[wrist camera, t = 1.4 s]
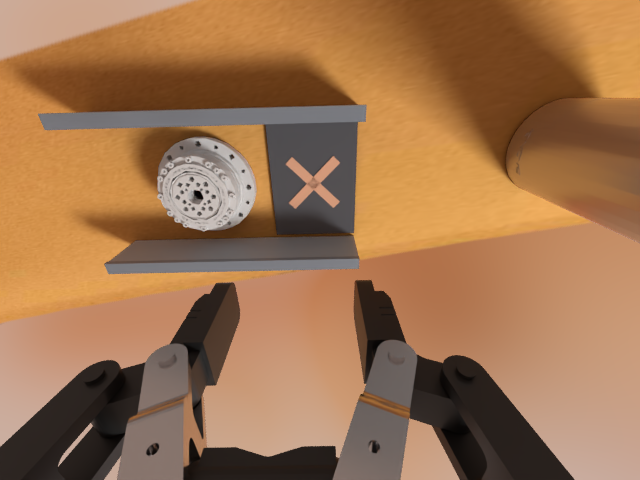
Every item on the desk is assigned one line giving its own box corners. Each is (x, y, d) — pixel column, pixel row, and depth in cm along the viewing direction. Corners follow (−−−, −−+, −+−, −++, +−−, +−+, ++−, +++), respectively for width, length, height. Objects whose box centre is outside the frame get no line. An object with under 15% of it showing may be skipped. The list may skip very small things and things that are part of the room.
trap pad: (357, 121, 28) (357, 121, 27) (353, 231, 33) (353, 233, 33) (265, 123, 28) (265, 124, 27) (277, 233, 33) (276, 234, 33)
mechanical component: (197, 113, 27) (147, 184, 31) (176, 116, 24) (121, 197, 27) (275, 183, 31) (222, 241, 34) (268, 195, 27) (209, 260, 30)
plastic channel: (357, 103, 27) (366, 104, 22) (353, 243, 34) (358, 268, 29) (88, 110, 27) (37, 113, 22) (138, 248, 34) (108, 273, 29)
